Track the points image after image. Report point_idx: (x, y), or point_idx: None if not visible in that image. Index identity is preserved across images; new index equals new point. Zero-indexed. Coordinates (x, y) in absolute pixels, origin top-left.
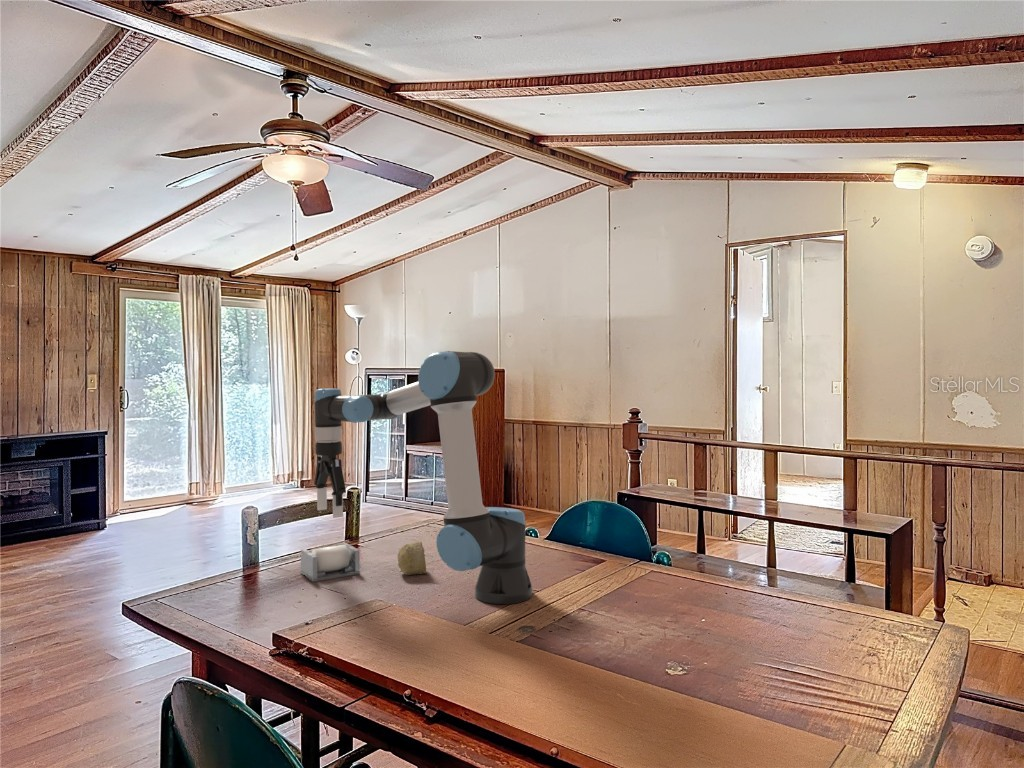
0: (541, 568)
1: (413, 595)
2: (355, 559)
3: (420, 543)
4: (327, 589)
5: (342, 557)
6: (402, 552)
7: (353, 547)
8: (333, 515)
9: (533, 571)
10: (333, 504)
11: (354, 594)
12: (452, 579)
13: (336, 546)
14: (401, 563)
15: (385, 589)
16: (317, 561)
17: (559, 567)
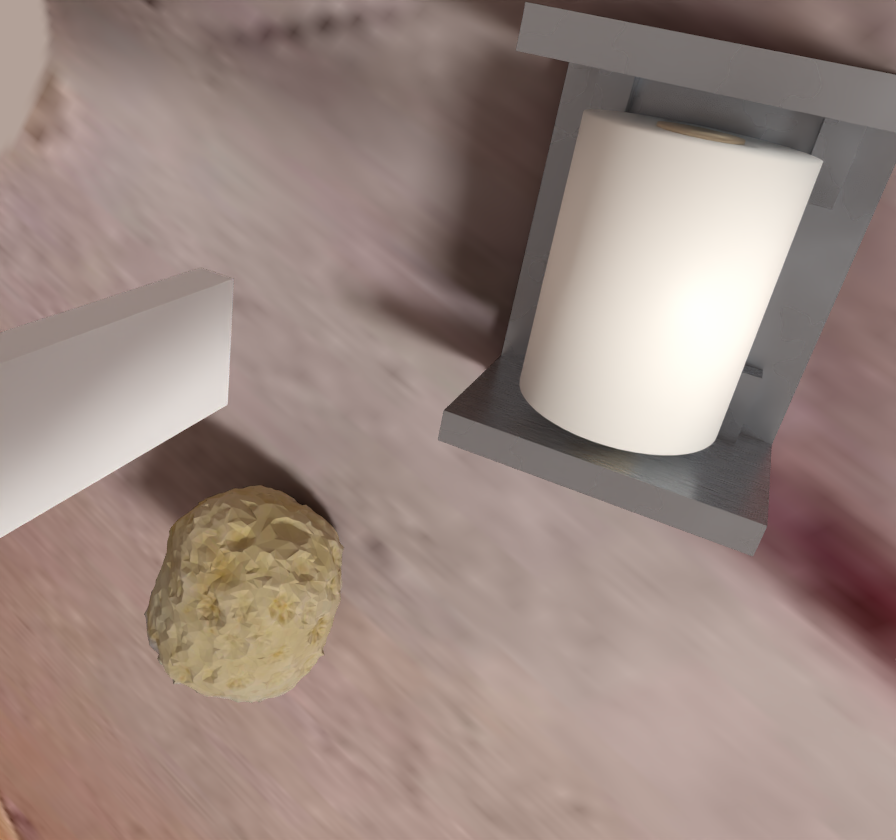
0: (83, 797)
1: (32, 294)
2: (469, 386)
3: (162, 658)
4: (357, 8)
5: (532, 326)
6: (204, 546)
7: (545, 474)
8: (190, 279)
9: (69, 760)
10: (40, 323)
11: (179, 87)
12: (132, 558)
13: (611, 362)
14: (226, 494)
15: (165, 269)
16: (633, 121)
17: (65, 824)
